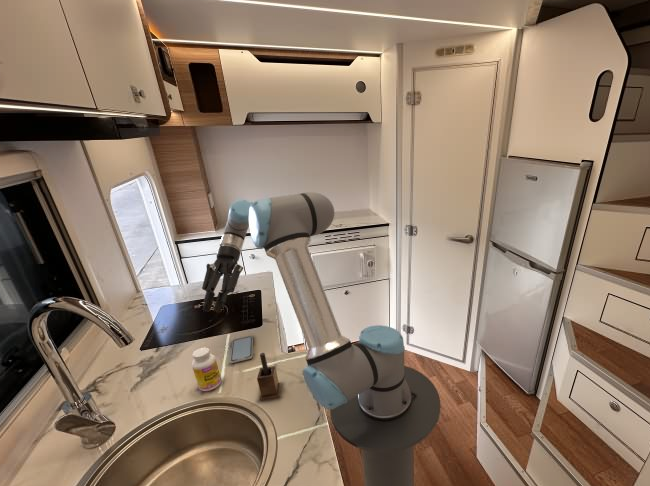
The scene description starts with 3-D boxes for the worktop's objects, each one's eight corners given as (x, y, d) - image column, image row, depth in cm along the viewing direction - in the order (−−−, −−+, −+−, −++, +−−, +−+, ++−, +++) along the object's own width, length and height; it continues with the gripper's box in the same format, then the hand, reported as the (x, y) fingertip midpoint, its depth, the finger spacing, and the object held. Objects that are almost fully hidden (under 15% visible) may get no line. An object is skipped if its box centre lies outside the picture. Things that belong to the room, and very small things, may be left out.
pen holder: (281, 384, 101) (277, 364, 98) (279, 397, 96) (274, 376, 93) (263, 387, 100) (258, 367, 97) (259, 400, 95) (254, 379, 92)
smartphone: (252, 335, 126) (252, 356, 113) (253, 337, 126) (252, 358, 113) (232, 339, 124) (229, 362, 111) (233, 341, 124) (230, 364, 111)
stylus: (273, 387, 98) (265, 352, 93) (272, 391, 97) (264, 355, 92) (268, 388, 98) (260, 352, 93) (267, 392, 97) (259, 355, 92)
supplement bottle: (206, 395, 98) (195, 361, 93) (195, 387, 101) (183, 354, 96) (226, 381, 103) (217, 349, 98) (214, 374, 107) (204, 343, 102)
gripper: (256, 253, 118) (239, 315, 109) (216, 253, 121) (197, 312, 112) (244, 244, 111) (226, 309, 102) (203, 244, 114) (182, 307, 105)
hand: (211, 311), depth 107 cm, fingers open, 3 cm apart
